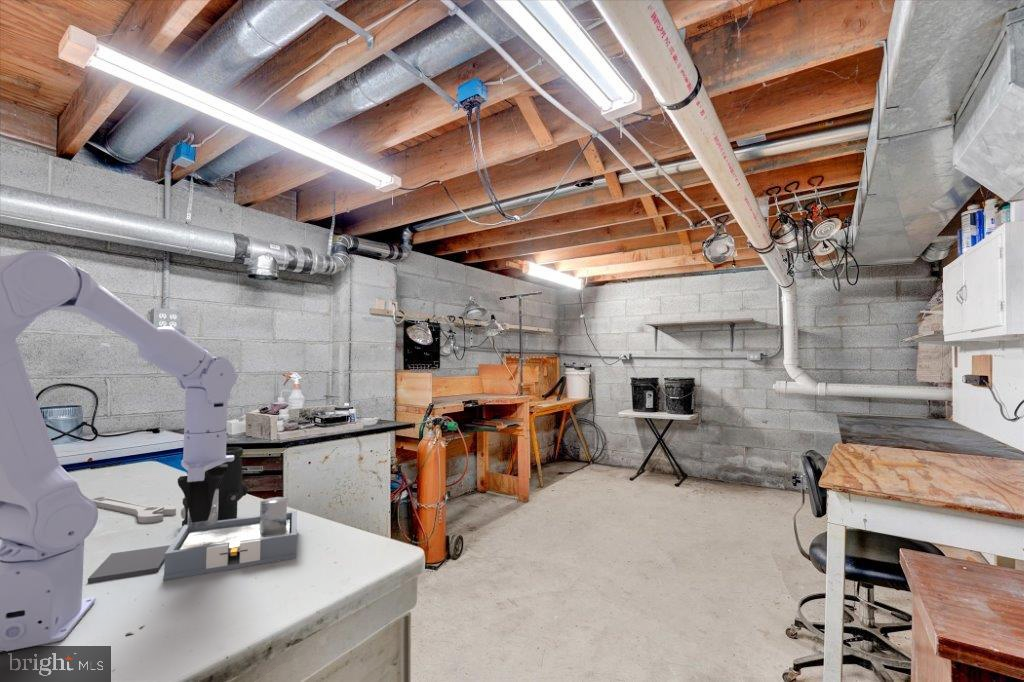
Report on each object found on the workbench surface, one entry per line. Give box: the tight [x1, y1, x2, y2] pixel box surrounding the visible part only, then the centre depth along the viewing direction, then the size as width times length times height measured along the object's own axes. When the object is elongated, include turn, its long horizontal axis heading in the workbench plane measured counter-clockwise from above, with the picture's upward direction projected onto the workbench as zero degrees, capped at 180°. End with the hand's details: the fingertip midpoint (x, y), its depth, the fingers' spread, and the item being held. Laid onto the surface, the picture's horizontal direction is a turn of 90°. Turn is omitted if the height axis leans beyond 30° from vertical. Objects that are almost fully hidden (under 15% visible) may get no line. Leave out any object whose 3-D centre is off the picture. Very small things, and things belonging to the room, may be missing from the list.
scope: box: [180, 446, 249, 528], centre depth 87 cm, size 8×14×10 cm
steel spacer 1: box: [187, 488, 219, 528], centre depth 72 cm, size 4×4×5 cm
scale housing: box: [162, 510, 298, 581], centre depth 74 cm, size 13×17×4 cm
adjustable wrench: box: [90, 496, 177, 524], centre depth 94 cm, size 25×6×2 cm, turn 63°
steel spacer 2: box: [259, 496, 288, 535], centre depth 76 cm, size 4×4×5 cm
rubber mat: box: [87, 544, 171, 584], centre depth 69 cm, size 9×8×1 cm
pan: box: [180, 519, 290, 556], centre depth 73 cm, size 12×15×1 cm
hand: (202, 516), depth 72 cm, fingers closed on steel spacer 1, 4 cm apart
